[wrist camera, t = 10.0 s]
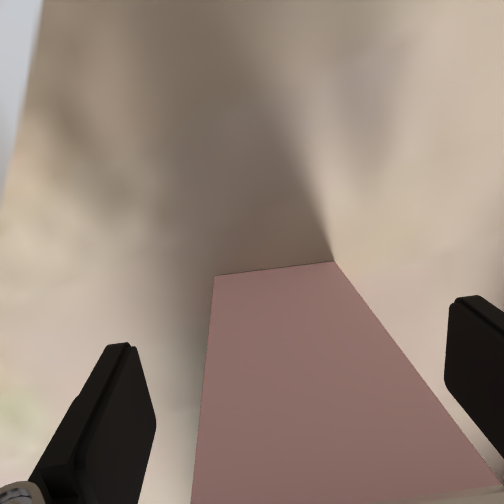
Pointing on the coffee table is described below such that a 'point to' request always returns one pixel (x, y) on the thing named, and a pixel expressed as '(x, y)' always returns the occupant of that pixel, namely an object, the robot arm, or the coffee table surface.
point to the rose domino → (317, 400)
